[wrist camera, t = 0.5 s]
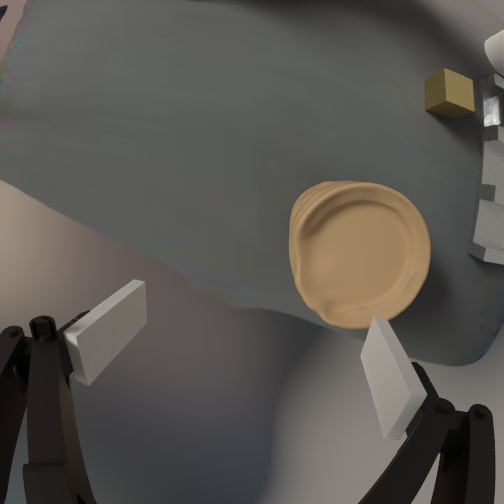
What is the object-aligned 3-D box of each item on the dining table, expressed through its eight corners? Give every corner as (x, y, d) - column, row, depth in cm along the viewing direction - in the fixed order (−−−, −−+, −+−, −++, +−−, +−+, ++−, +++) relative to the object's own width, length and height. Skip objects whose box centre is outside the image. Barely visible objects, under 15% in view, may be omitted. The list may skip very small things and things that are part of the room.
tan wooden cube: (424, 81, 32) (444, 67, 25) (450, 90, 31) (472, 79, 24) (424, 110, 33) (446, 100, 26) (451, 118, 32) (474, 111, 26)
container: (306, 279, 42) (314, 346, 25) (276, 197, 39) (265, 213, 22) (385, 251, 39) (439, 300, 22) (360, 168, 37) (411, 163, 20)
